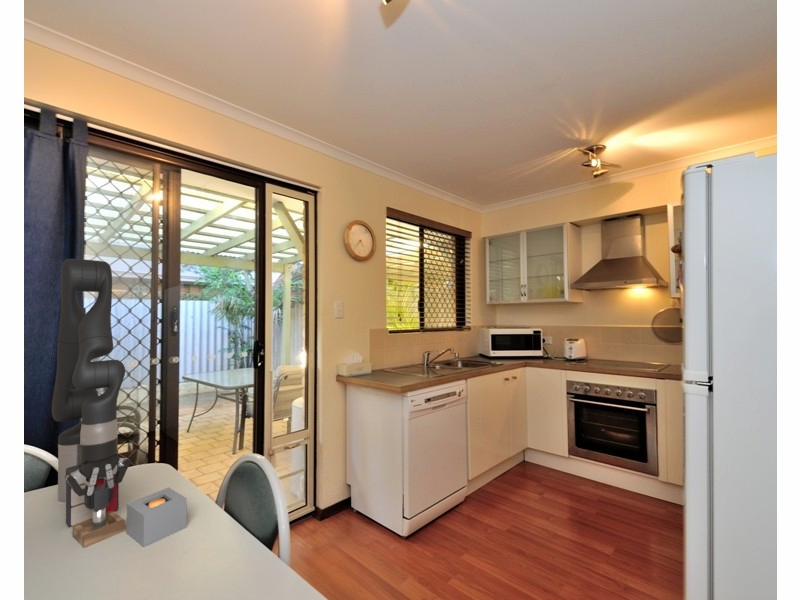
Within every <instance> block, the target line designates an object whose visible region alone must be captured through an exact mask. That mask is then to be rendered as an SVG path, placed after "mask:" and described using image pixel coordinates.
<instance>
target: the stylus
mask: <svg viewBox="0 0 800 600" xmlns="http://www.w3.org/2000/svg"><path fill="white" fill-rule="evenodd" d="M93 494H94V508H93V509H92V510H93V531H94V530H97V529H99V528H102V527H104V526H105V524H106V507H108V497H109V487H108V486H106V485H105V484H102V485H99V486H96V487H94V490H93Z"/></svg>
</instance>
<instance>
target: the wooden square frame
mask: <svg viewBox="0 0 800 600" xmlns="http://www.w3.org/2000/svg"><path fill="white" fill-rule="evenodd" d="M125 527H126V520H125V519H124V518H123V517H121V516H120V515H119V514H118V513H116V511H113V510H111V511H109V512H106V524H105V526H104V527H102V528H99V529H97V530H94V531H93V518H91V519H88V520H85V521H83V522H80V523H78V524H75V525H73V526H72V537H73V539H75V541H76V542H77V543H78V544H79V545H80V546H81V547H82V548H83V549H85V548H88V547H91V546H93V545H95V544H98V543H100V542H103V541H105V540H108V539H110V538H112V537H115V536H117V535H118V534H122V533H124V532H126V528H125Z"/></svg>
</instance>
